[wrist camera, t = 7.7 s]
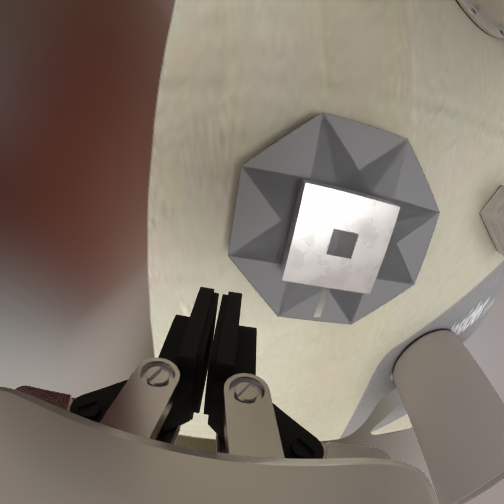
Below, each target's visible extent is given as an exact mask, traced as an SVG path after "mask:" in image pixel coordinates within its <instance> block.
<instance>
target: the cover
mask: <svg viewBox="0 0 504 504" xmlns="http://www.w3.org/2000/svg"><path fill="white" fill-rule="evenodd" d="M399 210H400V207H399V206H397V205H396V204H394V203H393V202H391V201H389V200H386V199H382V198H379V197H375V196H371V195H368V194H364V193H360V192H356V191H353V190H349V189H345V188H341V187H337V186H333V185H329V184H324V183H320V182H316V181H311V180H307V179H302V178H301V183H300V187H299V192H298V196H297V200H296V205H295V209H294V213H293V218H292V222H291V226H290V230H289V235H288V239H287V243H286V247H285V251H284V255H283V259H282V263H281V267H280V270H281V277H282V280H283V281H289V282H295V283H301V284H307V285H313V286H320V287H326V288H332V289H339V290H345V291H352V292H359V293H365V294H370V292H371V290H372V287H373V285H374V282H375V280H376V277H377V275H378V272H379V269H380V267H381V264H382V261H383V258H384V256H385V253H386V250H387V247H388V244H389V241H390V238H391V235H392V232H393V229H394V226H395V223H396V220H397V216H398V213H399Z"/></svg>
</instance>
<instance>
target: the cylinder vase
mask: <svg viewBox="0 0 504 504" xmlns="http://www.w3.org/2000/svg"><path fill="white" fill-rule="evenodd" d="M393 380H394V383H395V385H396V387H397V390H398V392H399V394H400V397H401V399H402V401H403V404H404V406H405V409H406V411H407V414H408V416H409V419H410V421H411V424H412V426H413V429H414V431H415V434H416V437H417V439H418V442H419V445H420V447H421V450H422V453H423V456H424V459H425V461H426V464H427V467H428V470H429V473H430V476H431V479H432V482H433V485H434V489H435V492H436V495H437V498H438V502H439V504H464V503H466V502H467V501H469V500H471V499H473V498H475V497H476V496H478V495H480V494H481V493H483V492H485V491H486V490H488V489H489V488H491V487H492V486H494V485H495V484H497V483H498V482H499V481H501V480H502V479H504V403H503V402H502V400H501V399H500V397H499V395H498V394H497V392H496V391H495V389H494V387H493V386H492V385H491V383H490V381H489V380H488V378H487V377H486V375H485V374H484V372H483V371H482V370H481V368H480V367H479V365H478V364H477V362H476V361H475V360H474V358H473V357H472V355H471V354H470V352H469V351H468V350H467V348H466V347H465V346H464V344H463V343H462V341H461V340H460V339H459V337H458V336H457V335H456V334H455V333H453V332H451V331H448V330H440V331H435V332H432V333H429V334H427V335H425V336H423V337H421V338H420V339H418V340H417V341H415V342H414V343H413V344H412V345H410V346H409V347H408V348H407V349H406V350H405V351H404V353H403V354H402V355H401V356H400V358H399V359H398V361H397V363H396V365H395V368H394V371H393Z"/></svg>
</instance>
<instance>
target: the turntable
mask: <svg viewBox="0 0 504 504" xmlns="http://www.w3.org/2000/svg"><path fill="white" fill-rule="evenodd" d="M301 178H302V179H307V180H311V181H316V182H320V183H324V184H329V185H333V186H337V187H341V188H345V189H349V190H353V191H356V192H360V193H364V194H368V195H371V196H375V197H379V198H382V199H386V200H389V201H391V202H393V203H394V204H396V205H397V206H399V207H400V210H399V213H398V216H397V220H396V223H395V226H394V229H393V232H392V235H391V238H390V241H389V244H388V247H387V250H386V253H385V256H384V258H383V261H382V264H381V267H380V269H379V272H378V275H377V277H376V280H375V282H374V285H373V287H372V290H371V292H370V294H365V293H359V292H352V291H345V290H339V289H332V288H326V287H320V286H313V285H307V284H301V283H295V282H289V281H283V280H282V277H281V270H280V267H281V263H282V259H283V255H284V251H285V247H286V243H287V239H288V235H289V230H290V226H291V222H292V218H293V213H294V209H295V205H296V200H297V196H298V192H299V187H300V183H301ZM439 213H440V212H439V209H438V207H437V204H436V201H435V199H434V196H433V194H432V191H431V189H430V186H429V184H428V182H427V179H426V177H425V175H424V172H423V170H422V168H421V166H420V163H419V161H418V159H417V157H416V155H415V153H414V151H413V149H412V147H411V145H410V143H409V141H408V139H407V138H404V137H401V136H398V135H396V134H393V133H390V132H387V131H384V130H381V129H378V128H375V127H372V126H369V125H365V124H362V123H359V122H355V121H352V120H348V119H345V118H341V117H337V116H334V115H330V114H326V113H321V114H318V115H317V116H315V117H314V118H312V119H310V120H309V121H307V122H306V123H304V124H302V125H301V126H299V127H298V128H296V129H295V130H293V131H291V132H290V133H288V134H287V135H285V136H284V137H282V138H281V139H279V140H278V141H276V142H275V143H273V144H272V145H270V146H269V147H267V148H266V149H264V150H263V151H261V152H260V153H258V154H257V155H255V156H254V157H253V158H251V159H250V160H248V161H247V162H245V163H244V164H243V165H242V168H241V174H240V180H239V186H238V193H237V199H236V206H235V212H234V219H233V225H232V232H231V239H230V246H229V253H228V256H229V258H230V259H231V260H232V261H233V263H234V264H235V265H236V266H237V268H238V269H239V270H240V271H241V272H242V274H243V275H244V276H245V277H246V279H247V280H248V281H249V282H250V283H251V285H252V286H253V287H254V288H255V290H256V291H257V292H258V293H259V294H260V296H261V297H262V298H263V299H264V301H265V302H266V303H267V304H268V305H269V307H270V308H271V309H272V310H273V311H274V313H275V314H276V315H277V316H280V317H287V318H295V319H304V320H312V321H321V322H331V323H341V324H353V323H354V322H356V321H358V320H360V319H361V318H363V317H365V316H366V315H368V314H369V313H371V312H373V311H374V310H376V309H378V308H379V307H381V306H382V305H384V304H386V303H387V302H389V301H390V300H392V299H393V298H395V297H396V296H398V295H399V294H401V293H402V292H404V291H405V290H407V289H408V288H410V287H411V286H413V285H414V284H415V281H416V279H417V276H418V274H419V271H420V269H421V266H422V263H423V261H424V258H425V255H426V253H427V250H428V247H429V244H430V241H431V238H432V235H433V232H434V229H435V226H436V223H437V219H438V216H439Z"/></svg>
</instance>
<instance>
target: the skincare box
mask: <svg viewBox="0 0 504 504" xmlns="http://www.w3.org/2000/svg"><path fill="white" fill-rule="evenodd" d="M480 215H481V217H482V219H483V221H484V223H485V225H486V227H487V229H488V232H489V234H490V236H491V238H492V240H493V242H494V244H495V247H496V249H497V251H498V252H499V253H500V254H502V255H503V256H504V186H501V187H500V188H499V189H498V190H497V192H496V193H495V194H494V195H493V197H492V198H491V199H490V201H489V202H488V203H487V204H486V205H485V207H484V208H483V209H482V210H481V212H480Z"/></svg>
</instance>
